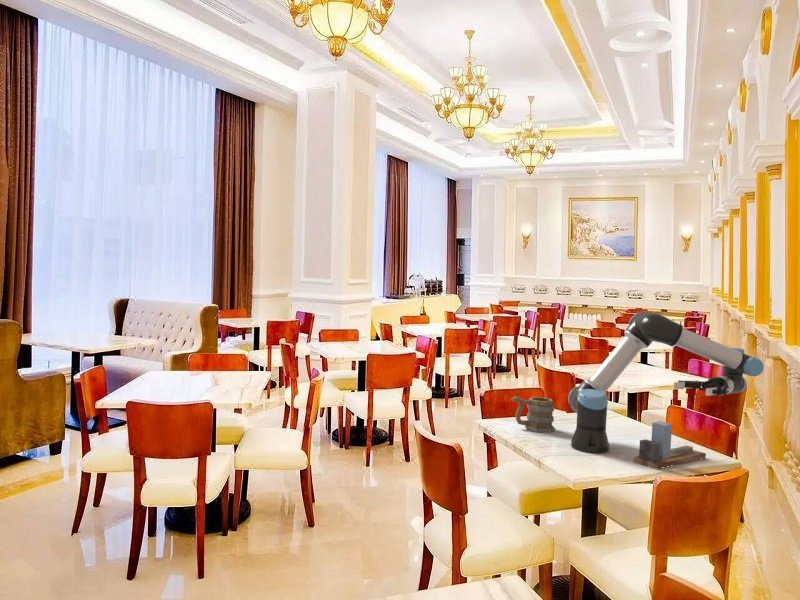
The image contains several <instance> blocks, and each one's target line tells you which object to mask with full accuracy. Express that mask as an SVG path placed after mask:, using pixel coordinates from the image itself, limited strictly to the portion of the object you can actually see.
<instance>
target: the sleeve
mask: <svg viewBox="0 0 800 600" xmlns="http://www.w3.org/2000/svg"><path fill="white" fill-rule="evenodd" d="M651 425H652V426H651V440H650V441H654V442H657V443H660V445H659V453H660V459H667V458H670V457H671V453H670V449H672V433H673V431H672V429H673V424H672V423H668V422H665V421H655V422H652V424H651Z"/></svg>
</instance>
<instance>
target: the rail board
mask: <svg viewBox="0 0 800 600" xmlns="http://www.w3.org/2000/svg"><path fill="white" fill-rule="evenodd" d="M659 445H660V443H657V442H654V441H651V440H649V439H641V440H639V446H638V447H639V451H638V455H637V456H634V457H633V463H636V464H638V465H641V466H646V467H648V466H649V468H651V467H653V468H652V469H654V468H657V469H658V470H660V469H659V468H662V467H666V468H668V467H667V466H671V465H675V466H678V465H677V464H679V465H683V463H684V464H687V462H688V463H692V462H695V461H694V460H696V461H699V460H698V459H701V458H705V457H706V456H707V453H706V452H703V451H699V450H695V449H694V447H693V446H691V445H682V446H677V447H674V448H672V447H671V449H670V453H671V457H670V458H667V459H660V453H659ZM706 458H707V457H706ZM706 458H705V459H706ZM701 460H702V459H701ZM691 461H692V462H691ZM671 467H672V466H671ZM657 469H656V470H657ZM662 469H663V468H662Z"/></svg>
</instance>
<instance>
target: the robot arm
mask: <svg viewBox="0 0 800 600" xmlns="http://www.w3.org/2000/svg"><path fill="white" fill-rule="evenodd" d="M628 322H629V323H628V326H627V328H626V329H625V330H624V331H623V332H624V337H623V338H622V339H621V340H620V341H619V342H618V344H617V345H616V346H615V348H614V349H613V350H612V351H611V352H610V354H608V356H607V357H606V358H605V360H604V361H603V362H602V363H601V364H600V365H599V367H598V368H597V369H596V371H595V372H594V373H593V374H592V375H591V376H590V378H588V379H583V381H582V382H581V383H580V384H579V385H578V386H575V387H574V388H572V389H571V390H570V392H569V394H568V399H567V400H568V404H569V406H570V408H571V410H572V411H573V412H574V413H575V414H576V427H575V431H574V433H573V436H572V438H571V441H570V446H571V448H572V449H574V450H577V451H580V452H583V453H584V452H585V453H593V454H604V453H608V452H609V451H610V442H609V439H608V435H607V418H608V417H607V415H608V405H609V401H608V395H607V391H608V390H609V389H610V388H611V387H612V385H613V384H614V382H616V380H617V379H618V378H619V377H620V375H622V373H623V372H624V371H625V370H626V369H627V367H628V366H629V364H630V363H631V362H632V361H633V360H634V358H635V357H636V356H637V355H638V354H639V352H640V351H641V350H643V349H647V348H649V347H650V346H651V344H652V343H653V342H656V343H660V344H664V345H667V346H669V347H679V348H682V349H684V350H685V351H688V352H689V353H690V352H691V353H692V354H696V355H697V356H701V357H703V358H704V359H705V358H706V359H708V360H711V361H713V362H715V363H718V364H720V365H723V368H722V369H723V371H722V376H713V377H710V378H709V379H708V380H705V381H702V380H701V381H700V380H680V379H679V380H678V381H675V382H673V390H684V389H696V390H697V389H698V390H699V391H705V396H709V397H710V396H724V397H725V396H727V395H729V394H739V393H742V392H743V391H745V390H746V388H747V385H748V383H747V380H746V379H745V377H744V375H747V376H748V377H757V376H759V375H761V374H763V372H764V368H765V364H764V363H763V361H762V360H761V359H759V358H758V357H755V356H751V355H748V354H746V353H745V350H744V348H741V347H739V348H738V347H730V346H727V345H725V344H722V343H720V342H717V341H714V340H712V339H710V338H707V337H705V336H702V335H701V334H699V333H695V332H693V331H691V330H688V329H686V328H684V326H683V325H682V324H681V323H677V322H676V321H673V320H671V318H670V319H669V318H668V317H666V316H665V315H663V314H660V313H654V312H651V311H646V310H645V311H640V312H639V311H638V312H637V313H635V314H633V316H632V317H631V318H630V319H629V321H628Z"/></svg>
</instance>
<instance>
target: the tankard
mask: <svg viewBox="0 0 800 600" xmlns="http://www.w3.org/2000/svg"><path fill="white" fill-rule="evenodd" d="M510 399H511V401H512V403H515V402H518V407H517V409H516V412H515V421H516V422H517V424H518V425H522V426H524V428H525V429H526V431H530V432H533V433H538V434H539V433H542V434H543V433H544V434H549V433H553V432H555V429H556V427H555V426H554V425H553V423H554V420H555V417H554V416H553V412H555V406H554V400H553V399H552V398H549V397H543V396H542V397H541V396H531V397H529V399H523V398H521V397H519V396H518V395H516V396H514V397H512V398H510ZM524 404H525V405H527V409H528V412H527V413H526V419H525V420H522V419H521V414H522V412H523V410H524Z"/></svg>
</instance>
